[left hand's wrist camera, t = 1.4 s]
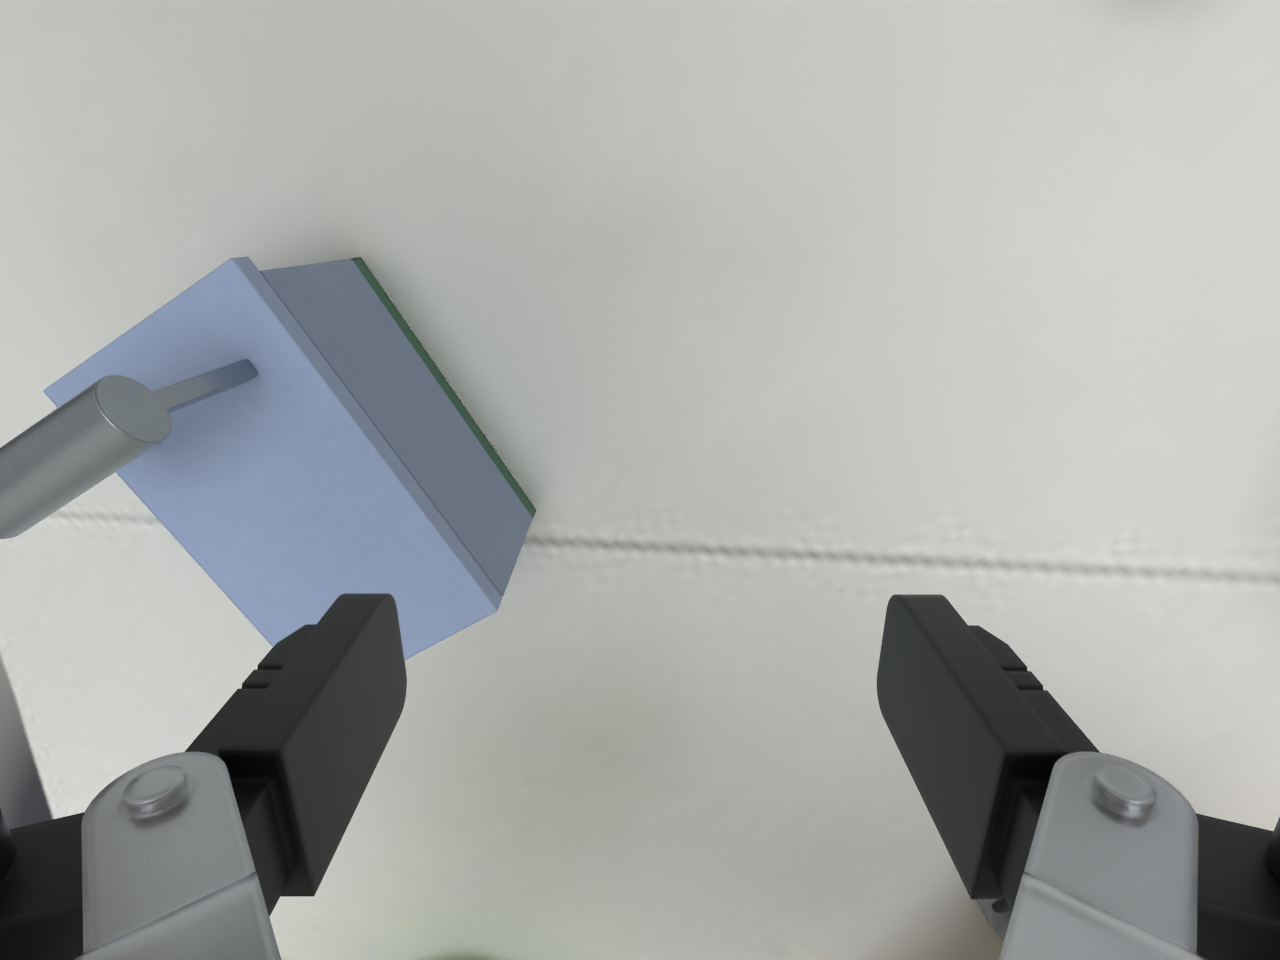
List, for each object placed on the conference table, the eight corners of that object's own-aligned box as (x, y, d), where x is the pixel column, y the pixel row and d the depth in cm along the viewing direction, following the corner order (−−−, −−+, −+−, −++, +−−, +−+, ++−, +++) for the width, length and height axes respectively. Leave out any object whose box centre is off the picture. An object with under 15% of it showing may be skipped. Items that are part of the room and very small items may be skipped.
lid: (65, 384, 27) (-186, 454, 19) (248, 256, 26) (60, 272, 17) (334, 687, 32) (227, 849, 24) (502, 597, 31) (450, 737, 22)
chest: (218, 353, 37) (77, 396, 28) (360, 257, 35) (260, 270, 26) (403, 584, 42) (334, 687, 32) (536, 510, 40) (503, 596, 31)
